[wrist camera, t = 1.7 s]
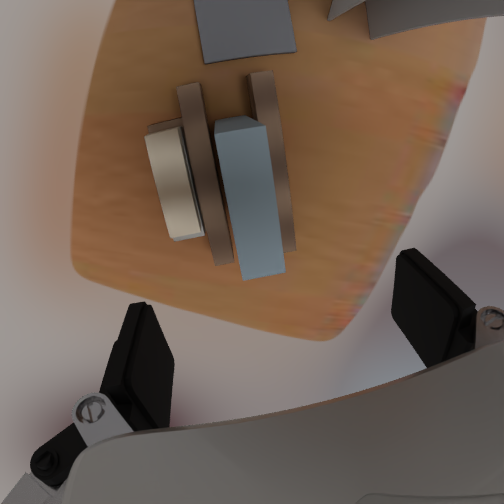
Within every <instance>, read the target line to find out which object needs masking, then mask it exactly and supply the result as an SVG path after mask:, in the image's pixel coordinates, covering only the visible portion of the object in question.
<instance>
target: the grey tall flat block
mask: <svg viewBox="0 0 504 504" xmlns="http://www.w3.org/2000/svg"><path fill="white" fill-rule="evenodd" d="M364 1H365V3H366V9H367V17H368V24H369V33H370V39H372V40H373V39H377V38H380V37H384V36H388V35H392V34H396V33H400V32H404V31H408V30H412V29H417V28H422V27H426V26H431V25H437V24H442V23H448V22H454V21H460V20H467V19H475V18H484V17H494V16H504V0H333V1H332V5H331V8H330V12H329V15H328V19H327V20H328V21H331V20H332V19H334V18H336V17H337V16H339V15H341V14H342V13H344V12H346V11H348V10H350V9H351V8H353V7H355V6H357V5H359V4H360V3H362V2H364Z"/></svg>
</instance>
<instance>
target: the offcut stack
mask: <svg viewBox="0 0 504 504" xmlns="http://www.w3.org/2000/svg"><path fill="white" fill-rule="evenodd" d="M147 127H148V131H149V134H148V135H146V136H144V138H145V142H146V146H147V151H148V155H149V159H150V163H151V167H152V171H153V175H154V179H155V183H156V187H157V191H158V195H159V199H160V202H161V206H162V210H163V214H164V217H165V221H166V224H167V228H168V232H169V235H170V238H173V239H174V242H175V241H180V240H185V239H190V238H195V237H200V236H205V231H207V230H206V226H205V221H204V217H203V213H202V208H201V204H200V199H199V195H198V191H197V186H196V181H195V177H194V172H193V168H192V163H191V158H190V154H189V149H188V144H187V139H186V134H185V130H184V125H183V120H182V118H178V119H174V120H169V121H165V122H161V123H157V124H153V125H150V126H147Z"/></svg>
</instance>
